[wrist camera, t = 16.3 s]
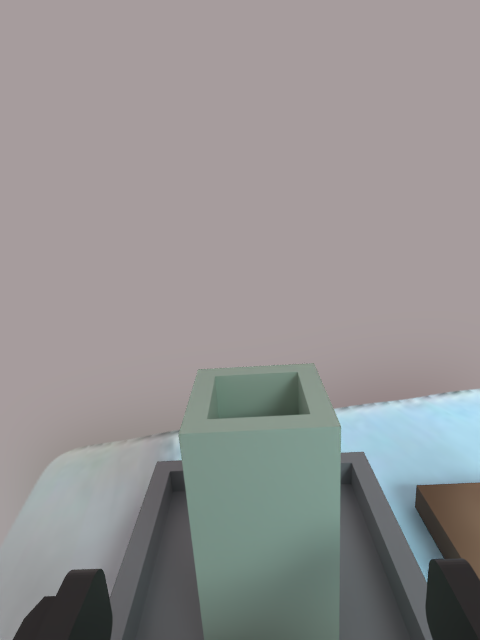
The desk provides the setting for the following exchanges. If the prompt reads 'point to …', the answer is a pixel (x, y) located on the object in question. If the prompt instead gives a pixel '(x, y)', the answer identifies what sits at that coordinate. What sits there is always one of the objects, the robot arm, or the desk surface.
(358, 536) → the grey tray
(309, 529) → the sleeve
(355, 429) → the desk surface
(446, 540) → the board
